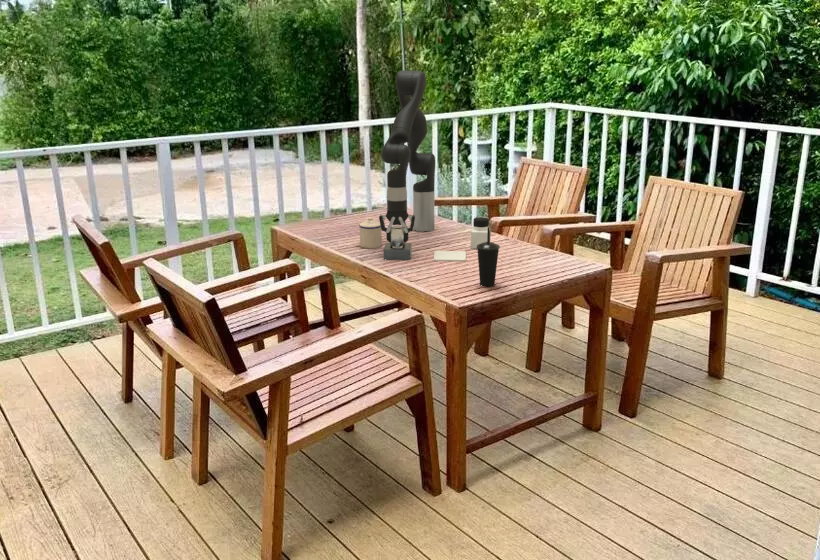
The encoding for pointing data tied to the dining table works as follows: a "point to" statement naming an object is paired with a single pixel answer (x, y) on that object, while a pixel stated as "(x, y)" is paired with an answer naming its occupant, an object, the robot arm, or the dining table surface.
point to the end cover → (397, 237)
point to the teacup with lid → (370, 234)
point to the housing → (397, 252)
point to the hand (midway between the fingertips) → (397, 241)
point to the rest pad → (450, 256)
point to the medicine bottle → (479, 231)
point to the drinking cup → (487, 261)
